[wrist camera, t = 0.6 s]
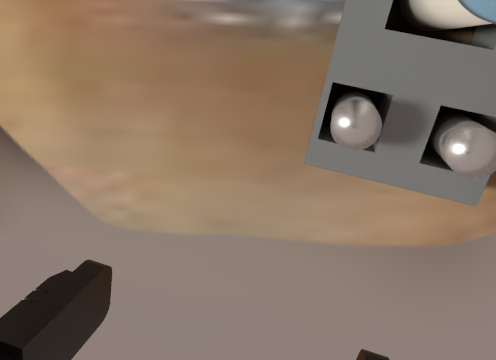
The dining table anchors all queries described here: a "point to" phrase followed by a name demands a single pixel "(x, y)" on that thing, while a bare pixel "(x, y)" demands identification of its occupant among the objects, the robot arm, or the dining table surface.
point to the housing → (406, 100)
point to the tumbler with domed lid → (448, 13)
